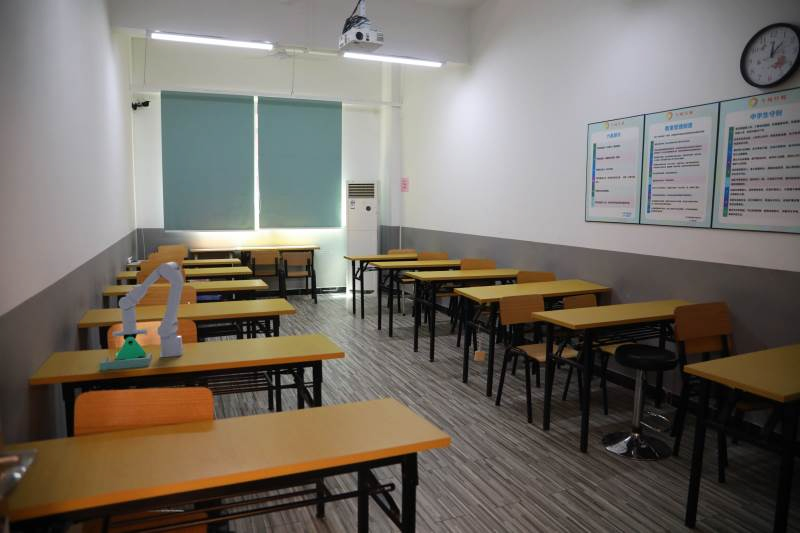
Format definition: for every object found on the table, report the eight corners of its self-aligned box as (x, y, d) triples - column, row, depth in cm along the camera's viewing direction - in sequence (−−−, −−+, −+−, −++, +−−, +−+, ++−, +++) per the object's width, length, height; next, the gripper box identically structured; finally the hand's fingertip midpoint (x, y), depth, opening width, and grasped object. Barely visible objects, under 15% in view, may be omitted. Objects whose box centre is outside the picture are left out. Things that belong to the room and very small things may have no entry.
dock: (152, 358, 249) (151, 350, 249) (148, 365, 237) (148, 358, 236) (105, 362, 243) (105, 355, 242) (100, 370, 230) (99, 362, 230)
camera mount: (144, 354, 257) (143, 333, 256) (146, 357, 251) (144, 336, 250) (116, 358, 251) (114, 336, 250) (117, 362, 245) (115, 340, 243)
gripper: (147, 318, 258) (149, 346, 260) (113, 321, 253) (115, 349, 255) (145, 321, 251) (147, 349, 253) (110, 324, 247) (113, 353, 248)
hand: (131, 350), depth 253 cm, fingers closed
